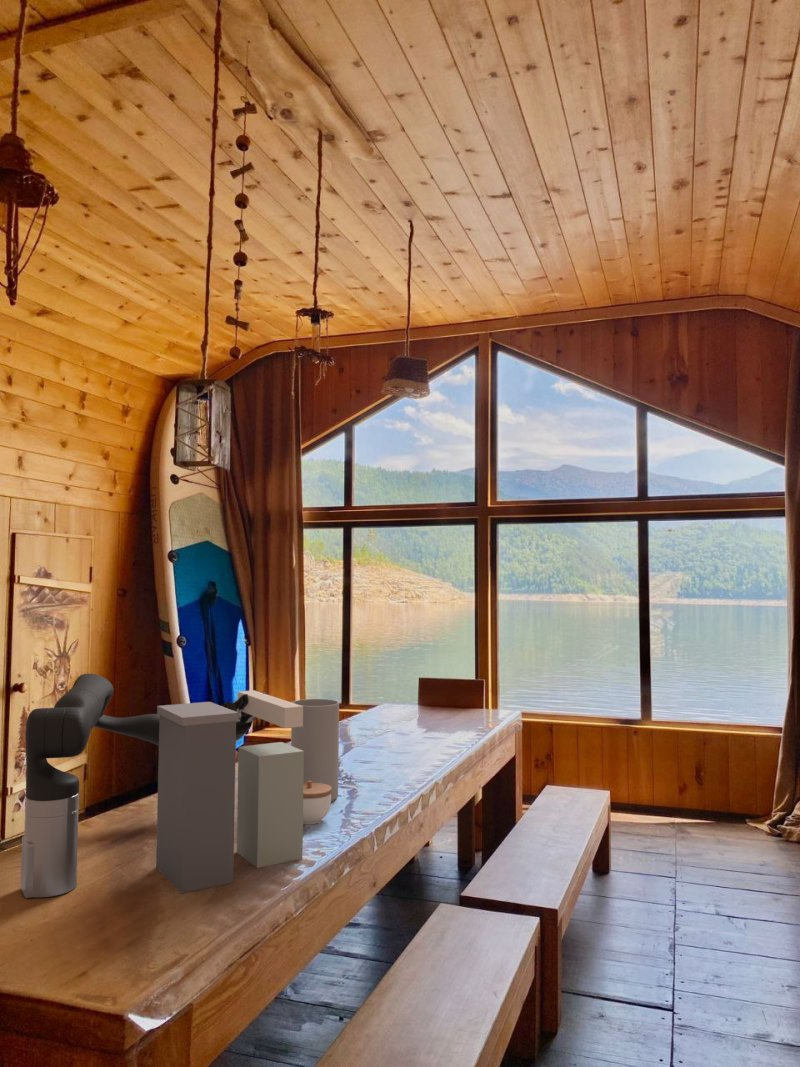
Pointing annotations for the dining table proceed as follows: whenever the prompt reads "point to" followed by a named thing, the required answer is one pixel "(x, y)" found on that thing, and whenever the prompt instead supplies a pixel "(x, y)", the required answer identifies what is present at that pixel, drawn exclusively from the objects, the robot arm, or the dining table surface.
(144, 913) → the dining table surface
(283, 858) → the sage-grey block
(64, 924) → the dining table surface
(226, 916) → the dining table surface
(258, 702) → the cream block
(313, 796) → the lidded jar
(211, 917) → the dining table surface
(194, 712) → the charcoal stand
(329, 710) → the cylinder vase
